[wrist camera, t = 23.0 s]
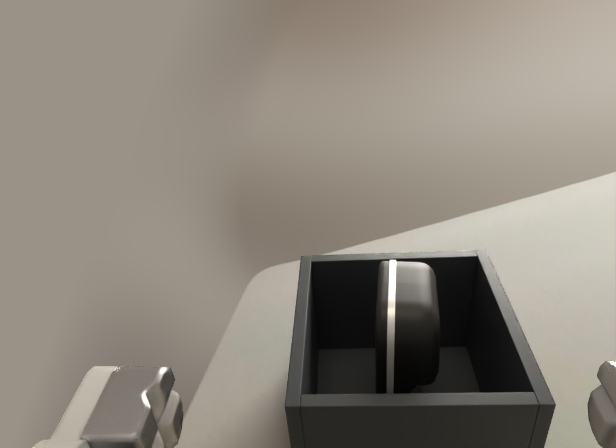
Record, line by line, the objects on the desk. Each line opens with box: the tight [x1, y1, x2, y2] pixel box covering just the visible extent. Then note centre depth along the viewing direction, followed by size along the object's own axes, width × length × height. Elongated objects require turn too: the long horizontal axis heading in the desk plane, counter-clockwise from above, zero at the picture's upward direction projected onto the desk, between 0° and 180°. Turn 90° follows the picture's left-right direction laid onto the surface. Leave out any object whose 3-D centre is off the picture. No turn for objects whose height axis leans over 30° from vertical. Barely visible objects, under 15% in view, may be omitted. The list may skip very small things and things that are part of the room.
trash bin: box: [285, 250, 556, 448], centre depth 33 cm, size 14×14×10 cm
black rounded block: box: [375, 260, 440, 394], centre depth 33 cm, size 7×4×11 cm, turn 171°
